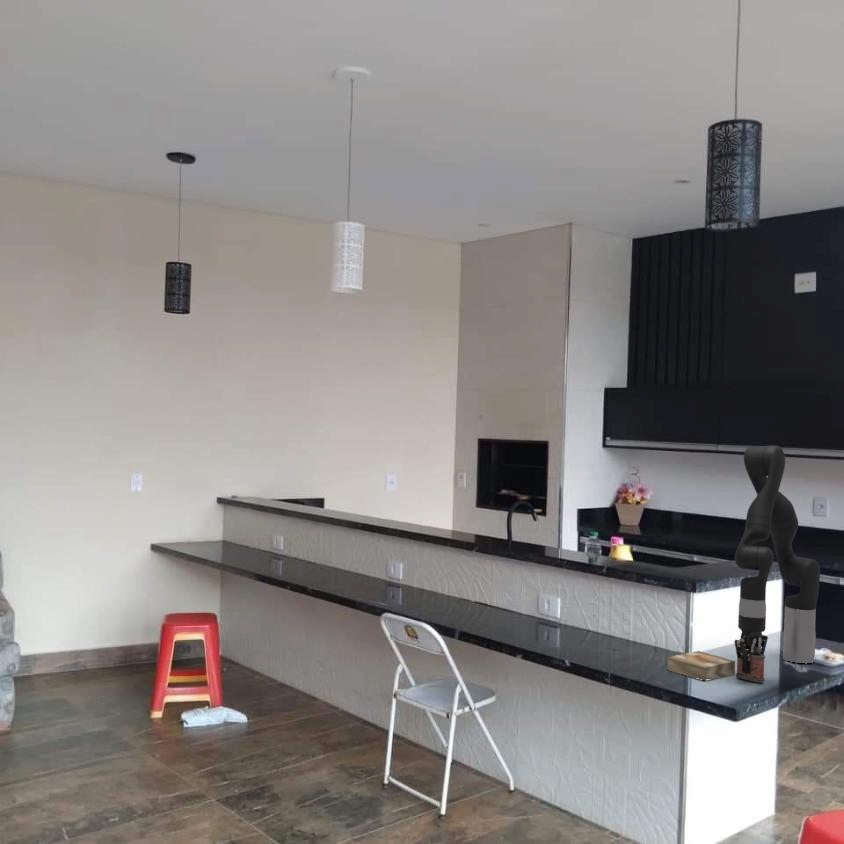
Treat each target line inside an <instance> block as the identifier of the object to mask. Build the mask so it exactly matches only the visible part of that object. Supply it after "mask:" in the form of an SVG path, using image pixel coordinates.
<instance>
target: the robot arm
mask: <svg viewBox="0 0 844 844" xmlns="http://www.w3.org/2000/svg"><path fill="white" fill-rule="evenodd" d="M743 462H744V467H745V471H746V473H747V475H748V477H749V480H750V482H751V484H752V486H753V490H754V491H755V493H756V497H755V498H754V499H753V501H752V502H751V504H750V506H749V507H748V509H747V514H746V519H745V526H744V527H745V528H744V530H743V531H744V532H743V535H742V537H741V540H740V542H739V544H738V546H737V548H736V550H735V553H734V562H735V565H736V566H737V567H738V568H739V569H744V570H750V571H751V570H753V571H758V574H757V575H755V576H746V577H743V578H742V579H741V580H740V587H739V588H740V589H739V590H740V594H739V603H738V617H737V618H738V621H737V627H738V629H739V630H740V631H741V634H740V638H739V639H734V646H735V648H734V649H735V651H736V652H735V653H736V657H737V658H739V659H742V672H743V673H746V674H749V673H750V662H751V661H750V659H751V654H752V653H753V651H754V647H760V648H761V651H760V654H762V655H765V652H766V648H767V643H768V639H769V637H768V636H767V635H764V634H763V632H765V631H766V623H767V621H766V619H767V618H766V617H767V604H766V599H767V598H766V596H767V595H766V593H767V592H766V591H767V583H768V582H767V581H768V578H769V575H770V572H771V568H772V566H773V563H774V559H775V557H774V552H773V551H772V549H770V547H767V546H757V545H753V544H755V543H758V542H765V541H768V539H769V538H770V537H771V540H772V544H773V546H774V550H775V555H776V560H777V564H778V569H779V574H780V577H781V578H782V580H783V582H785V583H786V584H788V585H792V586H798V587H800V589H799V593H797V594H793V595H788V596H786V597H785V600H784V618H783V619H784V621H783V622H784V623H783V624H784V625H783V628H784V629H783V643H782V645H783V646H782V659H783V660H784V661H786V662H788V661H790V662H789V663H792V662H795V663H794V664H797V663H805V664H804V665H808V664H807V663H811V662H812V661H813V660H814V657H815V658H816V638H817V637H816V636H817V632H816V619H817V618H816V613H817V612H816V611H817V603H818V599H819V592H820V591H819V589H820V580H821V567H820V564H819V562H818V561H817V560H816V559H813V558H808V557H800V556H797V555H795V552H794V550H793V546H792V543H793V540H794V538H795V537H796V534H797V532H798V529H799V520H798V517H797V513H796V511H795V508H794V505H793V503H792V502H791V501H790V500H789V498H787V497H786V496H785V495H784V494H783V493H781V491H780V487H781V483H782V480H783V475H784V472H785V468H786V455H785V452H784V450H783V448H782V447H780V446H779V445H760V446H750V447H748V448H746V449H745V451H744V453H743ZM745 648H747V650H746V649H745ZM748 649H750V650H748ZM740 652H741V653H740ZM746 652H747V653H748V654H747V655H746Z"/></svg>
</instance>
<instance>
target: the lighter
mask: <svg viewBox="0 0 844 844" xmlns="http://www.w3.org/2000/svg"><path fill="white" fill-rule="evenodd" d="M745 649H746V650H750V649H747V648H745ZM761 649H762V647H761V648H760V647H754V651H753V653H752V654H751V659H750V661H751V662H750V673H749V674H746V673H743V672H742V659H739V658H737V659H736V660H737V661H736V666H737V667H736V672H735V676H736V678H739V679H743V680H746V681H751V682H752V681H753V682H756V683H764V682H765V678H764V675H765V674H764V672H765V658H766V655H765V654H764V655H762V654H760V651H761ZM740 653H741V652H740ZM747 654H748V653H747V652H746V655H747Z"/></svg>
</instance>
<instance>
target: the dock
mask: <svg viewBox="0 0 844 844" xmlns="http://www.w3.org/2000/svg"><path fill="white" fill-rule="evenodd" d="M668 670H669V671H668ZM667 671H668V672H671V671H672V672H671V673H675V674H678V673H679V674H678V675H681V674H683V675H682V676H685V675H686V677H688V676H690V677H689V678H691V677H694V678H699V679H702V680H706V679H713V680H715V679H714V678H717V679H719V678H718V677H721V678H725V677H728V675H729V676H733V675H736V660H733V659H731V658H730V659H729V658H725V657H723V656H720V655H719V656H718V655H715V654H712V653H711V654H710V653H707V652H704V651H700V650H697V651H693V652H686V653H681V654H677V655H672V656H668V657H667ZM732 674H733V675H732ZM724 676H725V677H724ZM694 678H693V679H694Z"/></svg>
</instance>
